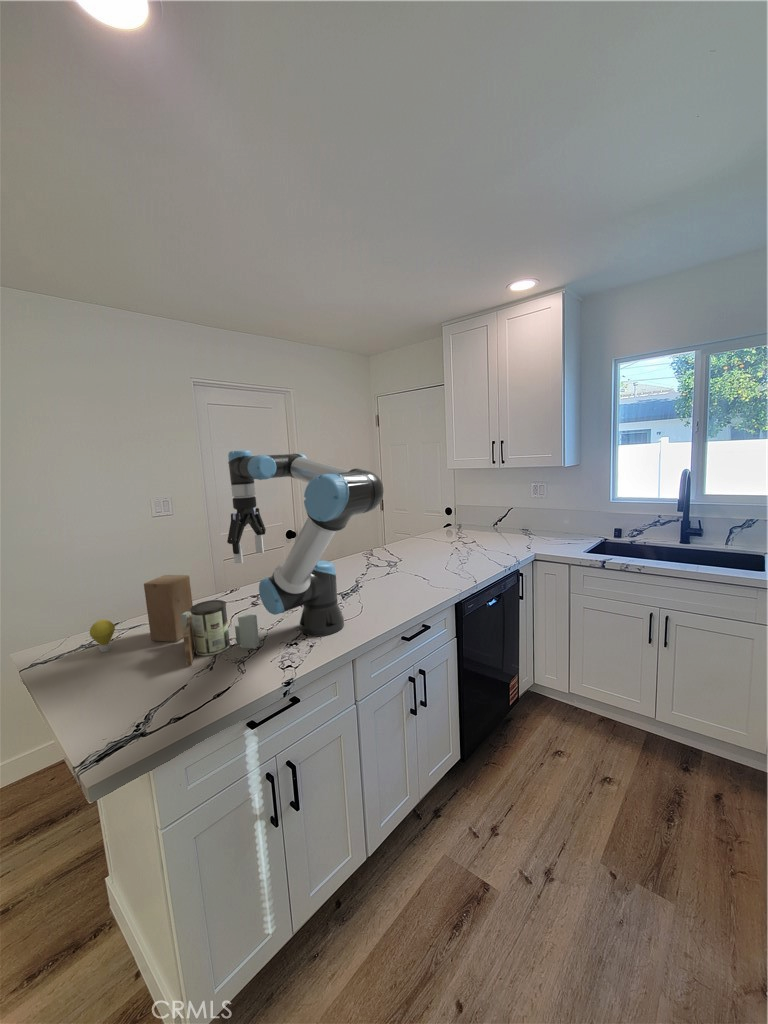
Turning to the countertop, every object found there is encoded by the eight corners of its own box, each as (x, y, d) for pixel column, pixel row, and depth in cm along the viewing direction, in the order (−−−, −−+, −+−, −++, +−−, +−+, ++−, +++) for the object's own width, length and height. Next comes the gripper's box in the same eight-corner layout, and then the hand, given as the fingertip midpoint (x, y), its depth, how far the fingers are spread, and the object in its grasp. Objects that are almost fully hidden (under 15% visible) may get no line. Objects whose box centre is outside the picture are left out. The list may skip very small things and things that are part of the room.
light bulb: (122, 646, 137) (118, 617, 135) (102, 656, 130) (98, 625, 129) (107, 644, 139) (103, 615, 138) (87, 653, 133) (83, 623, 131)
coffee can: (213, 639, 139) (209, 598, 137) (237, 643, 135) (233, 601, 133) (187, 652, 130) (182, 609, 128) (212, 658, 126) (207, 613, 124)
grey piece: (259, 644, 133) (256, 614, 132) (255, 648, 131) (252, 617, 129) (190, 639, 139) (187, 611, 138) (184, 643, 137) (181, 614, 135)
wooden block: (177, 642, 138) (169, 583, 135) (150, 641, 140) (142, 583, 137) (196, 629, 148) (189, 574, 145) (171, 628, 150) (164, 574, 147)
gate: (191, 665, 121) (187, 635, 120) (186, 666, 121) (183, 636, 120) (196, 640, 138) (192, 614, 137) (192, 641, 137) (188, 615, 136)
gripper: (253, 492, 155) (258, 549, 158) (211, 501, 131) (218, 567, 134) (272, 492, 153) (277, 549, 156) (232, 500, 129) (239, 567, 132)
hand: (249, 557), depth 145 cm, fingers open, 13 cm apart
